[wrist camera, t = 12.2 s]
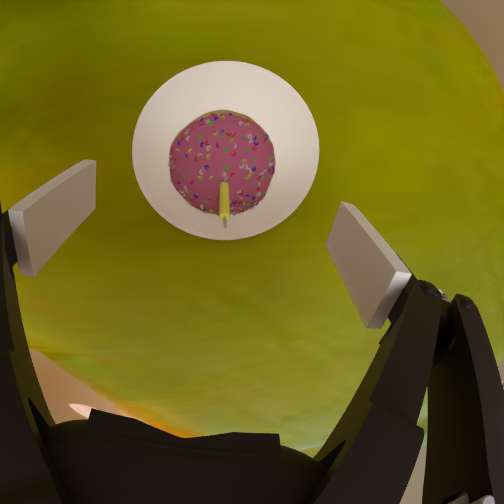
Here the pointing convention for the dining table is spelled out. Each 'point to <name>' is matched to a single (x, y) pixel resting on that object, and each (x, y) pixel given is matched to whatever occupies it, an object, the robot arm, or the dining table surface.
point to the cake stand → (241, 101)
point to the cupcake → (222, 163)
